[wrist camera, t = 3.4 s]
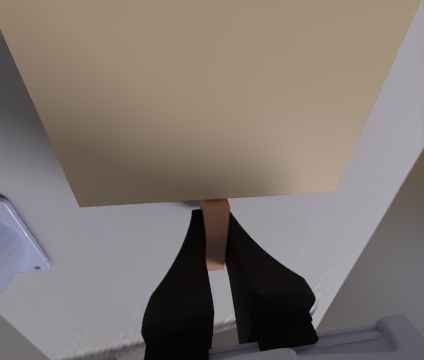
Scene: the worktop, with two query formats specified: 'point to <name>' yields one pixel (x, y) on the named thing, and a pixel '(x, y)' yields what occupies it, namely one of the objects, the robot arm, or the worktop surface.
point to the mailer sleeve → (203, 91)
